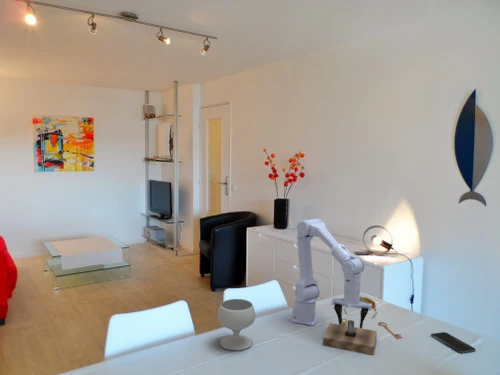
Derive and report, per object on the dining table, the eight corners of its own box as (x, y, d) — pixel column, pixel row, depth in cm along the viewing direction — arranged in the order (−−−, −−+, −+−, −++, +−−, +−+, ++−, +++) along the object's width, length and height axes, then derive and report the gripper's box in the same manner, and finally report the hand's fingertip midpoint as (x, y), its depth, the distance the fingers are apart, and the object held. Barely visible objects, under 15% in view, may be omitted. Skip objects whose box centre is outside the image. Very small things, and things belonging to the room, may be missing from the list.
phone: (459, 352, 141) (429, 333, 155) (459, 355, 141) (429, 336, 155) (477, 349, 143) (445, 331, 158) (476, 352, 143) (445, 334, 158)
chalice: (209, 343, 146) (210, 304, 145) (236, 331, 156) (236, 295, 155) (236, 356, 136) (236, 315, 135) (262, 343, 147) (263, 304, 146)
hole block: (322, 345, 146) (323, 337, 146) (329, 330, 159) (330, 323, 159) (373, 355, 139) (373, 346, 139) (376, 338, 152) (376, 331, 152)
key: (407, 340, 153) (389, 324, 167) (407, 338, 152) (389, 322, 167) (393, 340, 152) (376, 323, 167) (393, 337, 152) (376, 321, 167)
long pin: (346, 342, 149) (347, 322, 148) (347, 339, 151) (348, 319, 150) (352, 343, 148) (353, 323, 147) (353, 341, 150) (354, 320, 149)
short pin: (340, 330, 159) (340, 320, 159) (341, 327, 161) (341, 318, 161) (346, 331, 158) (346, 321, 158) (347, 328, 161) (347, 319, 160)
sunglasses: (377, 307, 185) (378, 298, 184) (375, 324, 171) (376, 314, 170) (347, 303, 190) (347, 293, 189) (342, 319, 176) (342, 309, 175)
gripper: (330, 290, 147) (329, 326, 148) (371, 296, 141) (369, 333, 142) (334, 285, 153) (332, 319, 154) (372, 290, 148) (371, 325, 149)
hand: (350, 325), depth 149 cm, fingers open, 7 cm apart
